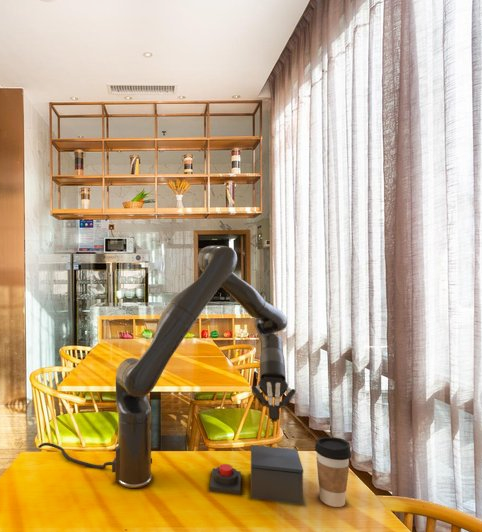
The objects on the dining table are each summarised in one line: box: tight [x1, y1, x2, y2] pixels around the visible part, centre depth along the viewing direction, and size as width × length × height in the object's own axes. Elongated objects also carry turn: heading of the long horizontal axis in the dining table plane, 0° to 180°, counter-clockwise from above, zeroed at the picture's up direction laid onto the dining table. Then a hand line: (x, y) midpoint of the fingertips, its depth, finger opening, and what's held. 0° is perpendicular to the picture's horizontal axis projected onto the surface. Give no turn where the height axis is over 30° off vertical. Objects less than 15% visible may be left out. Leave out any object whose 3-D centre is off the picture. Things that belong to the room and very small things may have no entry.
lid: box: [250, 444, 304, 474], centre depth 106 cm, size 12×13×1 cm
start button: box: [218, 463, 234, 476], centre depth 109 cm, size 4×4×2 cm
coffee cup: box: [314, 436, 352, 508], centre depth 102 cm, size 8×8×15 cm
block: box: [209, 466, 242, 496], centre depth 109 cm, size 8×10×3 cm
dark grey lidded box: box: [250, 466, 304, 506], centre depth 107 cm, size 12×13×8 cm
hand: (274, 420), depth 111 cm, fingers closed
